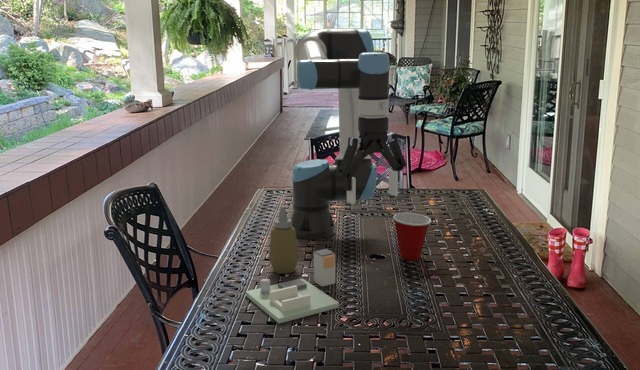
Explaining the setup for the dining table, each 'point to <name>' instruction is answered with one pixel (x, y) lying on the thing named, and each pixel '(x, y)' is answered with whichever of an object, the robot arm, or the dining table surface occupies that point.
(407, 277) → the dining table surface
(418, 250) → the plastic cup
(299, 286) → the board
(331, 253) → the plug
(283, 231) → the squeeze bottle
